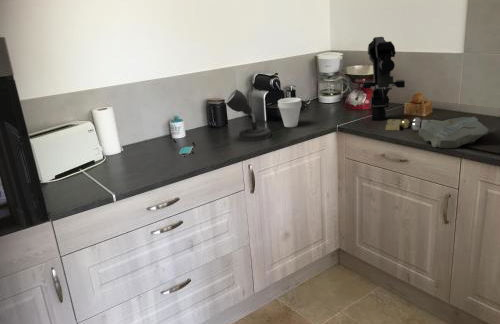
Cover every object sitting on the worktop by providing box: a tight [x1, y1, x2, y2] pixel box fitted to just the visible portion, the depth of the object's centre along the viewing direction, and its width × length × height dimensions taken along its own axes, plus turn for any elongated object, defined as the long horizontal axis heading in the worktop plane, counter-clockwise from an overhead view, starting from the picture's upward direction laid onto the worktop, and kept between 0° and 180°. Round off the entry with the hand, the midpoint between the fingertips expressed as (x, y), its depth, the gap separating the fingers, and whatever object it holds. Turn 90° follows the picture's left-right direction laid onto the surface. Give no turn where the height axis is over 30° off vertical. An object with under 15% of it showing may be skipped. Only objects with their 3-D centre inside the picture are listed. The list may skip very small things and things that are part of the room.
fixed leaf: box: [411, 117, 436, 132], centre depth 202 cm, size 10×11×4 cm
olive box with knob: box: [385, 118, 410, 131], centre depth 206 cm, size 10×11×4 cm
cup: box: [277, 97, 302, 128], centre depth 225 cm, size 12×12×14 cm
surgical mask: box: [172, 139, 196, 158], centre depth 200 cm, size 21×4×10 cm
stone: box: [418, 116, 490, 149], centre depth 180 cm, size 28×8×20 cm
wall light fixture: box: [225, 89, 272, 142], centre depth 209 cm, size 16×25×20 cm
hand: (383, 102), depth 207 cm, fingers closed
